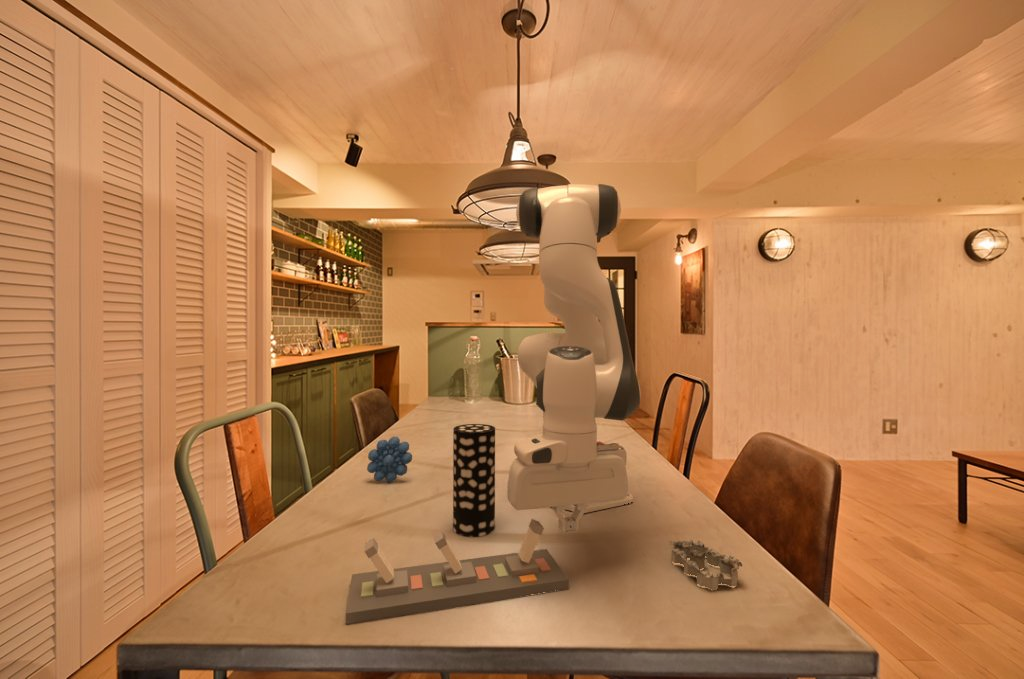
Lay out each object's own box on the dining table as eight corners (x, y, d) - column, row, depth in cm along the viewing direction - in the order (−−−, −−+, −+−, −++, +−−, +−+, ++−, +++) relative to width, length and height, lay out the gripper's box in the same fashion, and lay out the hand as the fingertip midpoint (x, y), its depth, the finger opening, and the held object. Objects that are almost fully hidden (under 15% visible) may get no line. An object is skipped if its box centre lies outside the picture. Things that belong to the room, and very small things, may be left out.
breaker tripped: (524, 555, 73) (539, 521, 74) (529, 563, 71) (544, 528, 71) (517, 553, 73) (531, 518, 73) (521, 561, 70) (536, 525, 71)
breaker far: (394, 569, 68) (373, 537, 67) (394, 578, 65) (373, 545, 64) (385, 574, 68) (365, 543, 67) (385, 584, 65) (364, 551, 64)
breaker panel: (546, 557, 78) (546, 543, 78) (568, 589, 69) (568, 573, 69) (352, 583, 70) (352, 567, 70) (346, 624, 60) (346, 605, 60)
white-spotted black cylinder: (462, 540, 84) (462, 434, 84) (447, 523, 92) (447, 426, 91) (501, 531, 88) (502, 430, 88) (484, 516, 96) (484, 422, 95)
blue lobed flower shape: (415, 476, 121) (415, 432, 121) (410, 485, 114) (410, 438, 114) (371, 477, 121) (371, 432, 121) (364, 485, 114) (364, 438, 114)
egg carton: (745, 590, 69) (746, 564, 69) (701, 595, 68) (701, 568, 68) (704, 555, 80) (704, 532, 80) (665, 559, 78) (665, 536, 78)
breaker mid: (460, 560, 70) (441, 530, 70) (462, 568, 68) (443, 537, 67) (452, 565, 70) (433, 535, 69) (454, 574, 68) (435, 543, 67)
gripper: (617, 438, 79) (616, 516, 80) (505, 444, 74) (504, 528, 74) (636, 446, 73) (635, 531, 73) (515, 454, 68) (514, 546, 68)
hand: (568, 530), depth 74 cm, fingers closed
